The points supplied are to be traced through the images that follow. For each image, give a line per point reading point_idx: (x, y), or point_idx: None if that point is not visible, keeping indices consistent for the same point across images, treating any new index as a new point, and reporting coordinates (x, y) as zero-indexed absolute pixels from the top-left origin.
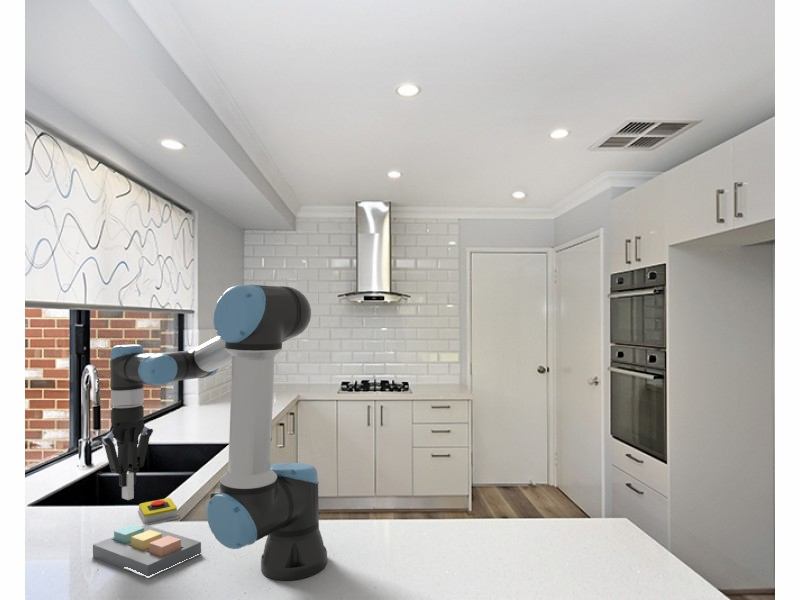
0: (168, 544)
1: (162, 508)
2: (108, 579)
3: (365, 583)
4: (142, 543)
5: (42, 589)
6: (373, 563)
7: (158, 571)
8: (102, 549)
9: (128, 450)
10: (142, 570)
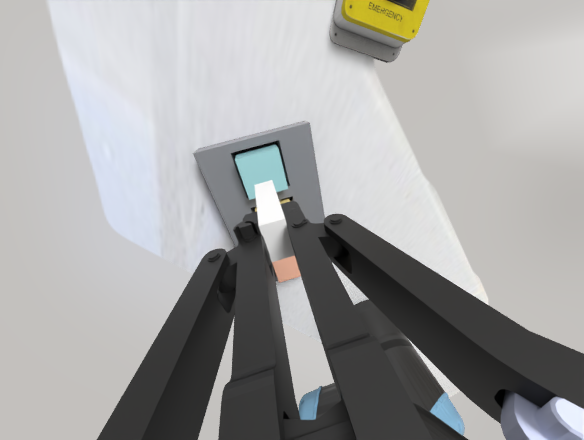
0: (289, 279)
1: (394, 4)
2: (212, 249)
3: None
4: None
5: (118, 223)
6: None
7: None
8: (209, 187)
9: (313, 310)
10: None
